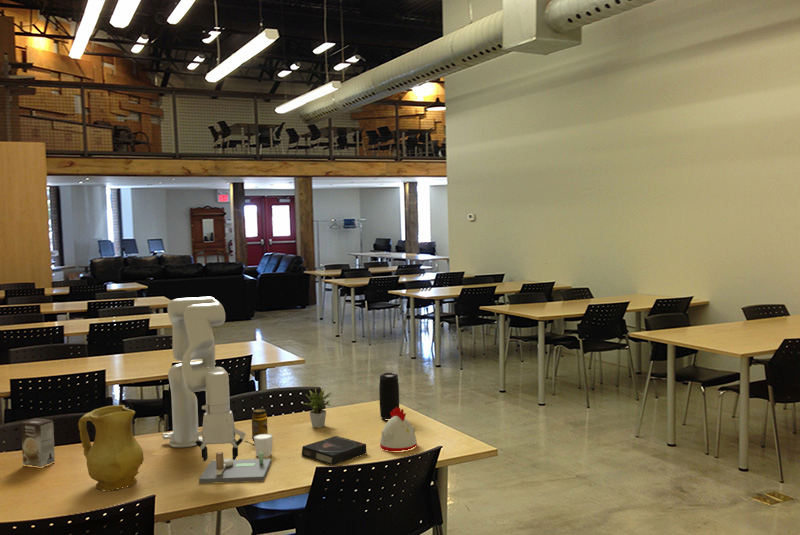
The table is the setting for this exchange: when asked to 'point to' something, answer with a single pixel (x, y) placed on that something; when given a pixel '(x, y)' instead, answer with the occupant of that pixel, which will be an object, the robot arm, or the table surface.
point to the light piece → (222, 463)
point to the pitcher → (111, 447)
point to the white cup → (263, 444)
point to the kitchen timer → (398, 433)
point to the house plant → (318, 408)
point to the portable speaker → (388, 394)
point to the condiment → (259, 422)
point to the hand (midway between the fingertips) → (220, 459)
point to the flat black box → (334, 450)
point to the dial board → (238, 471)
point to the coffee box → (38, 442)
